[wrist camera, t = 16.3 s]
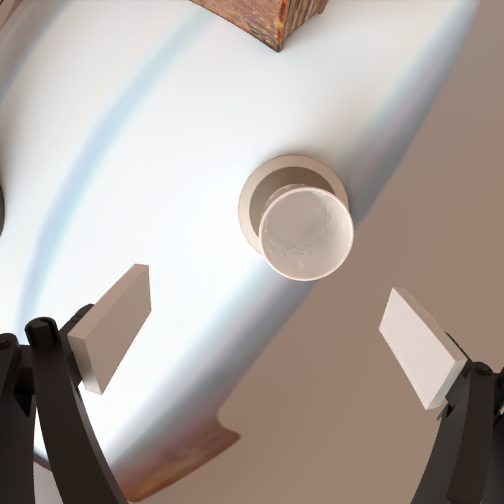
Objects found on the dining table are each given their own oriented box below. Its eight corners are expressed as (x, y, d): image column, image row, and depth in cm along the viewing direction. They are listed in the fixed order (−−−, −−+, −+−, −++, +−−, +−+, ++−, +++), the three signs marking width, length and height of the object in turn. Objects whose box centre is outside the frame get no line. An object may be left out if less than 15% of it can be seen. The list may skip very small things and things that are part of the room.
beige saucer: (218, 191, 33) (216, 192, 32) (312, 135, 31) (315, 134, 29) (273, 278, 36) (274, 283, 35) (361, 228, 34) (365, 231, 32)
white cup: (295, 258, 34) (308, 297, 24) (245, 216, 32) (238, 240, 23) (340, 210, 32) (371, 232, 22) (291, 164, 30) (304, 166, 21)
